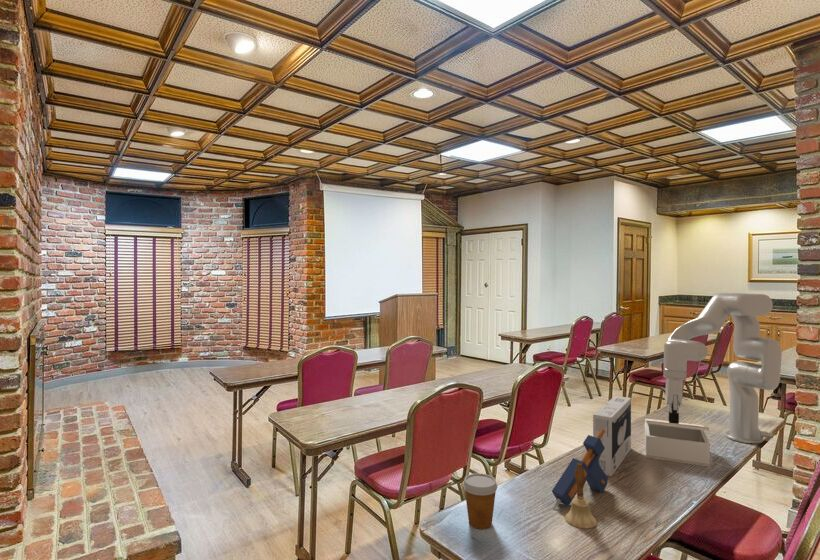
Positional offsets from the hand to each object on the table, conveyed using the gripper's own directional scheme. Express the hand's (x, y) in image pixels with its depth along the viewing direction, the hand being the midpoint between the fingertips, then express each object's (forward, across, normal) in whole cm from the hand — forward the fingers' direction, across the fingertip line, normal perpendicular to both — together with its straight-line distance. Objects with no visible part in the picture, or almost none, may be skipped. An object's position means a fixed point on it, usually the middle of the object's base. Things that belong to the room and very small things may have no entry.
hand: (673, 422), depth 172 cm
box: (+12, -3, +1) cm, 12 cm away
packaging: (+13, +13, -20) cm, 27 cm away
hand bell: (+15, +62, -27) cm, 69 cm away
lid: (+2, -3, +1) cm, 3 cm away
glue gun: (+15, +48, -28) cm, 58 cm away
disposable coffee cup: (+16, +75, -52) cm, 93 cm away
